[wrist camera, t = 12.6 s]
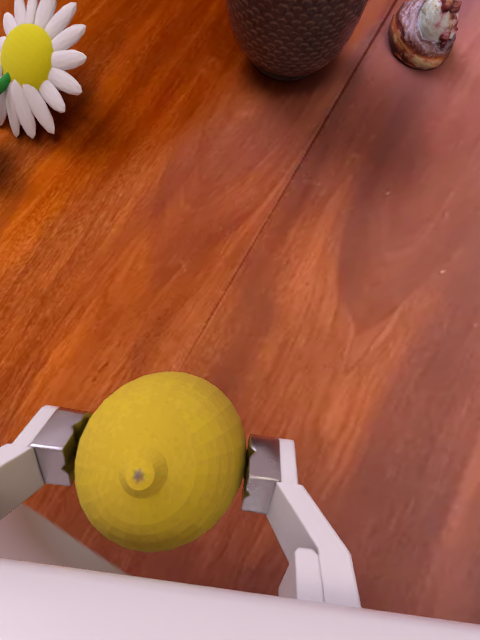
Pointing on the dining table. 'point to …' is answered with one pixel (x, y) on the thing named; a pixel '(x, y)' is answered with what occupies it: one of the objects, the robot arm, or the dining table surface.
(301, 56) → the planter
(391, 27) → the pastry
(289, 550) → the robot arm
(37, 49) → the decorative flower
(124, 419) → the lemon
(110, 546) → the dining table surface
